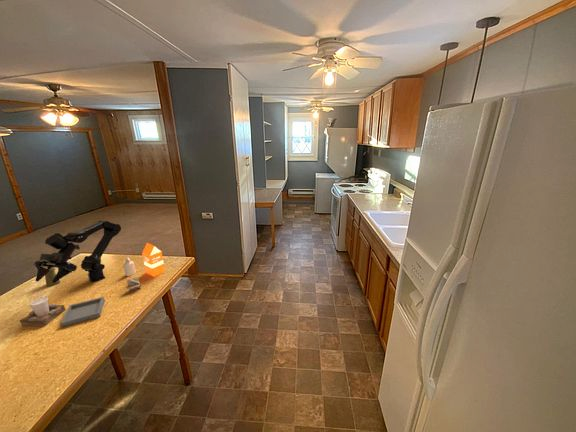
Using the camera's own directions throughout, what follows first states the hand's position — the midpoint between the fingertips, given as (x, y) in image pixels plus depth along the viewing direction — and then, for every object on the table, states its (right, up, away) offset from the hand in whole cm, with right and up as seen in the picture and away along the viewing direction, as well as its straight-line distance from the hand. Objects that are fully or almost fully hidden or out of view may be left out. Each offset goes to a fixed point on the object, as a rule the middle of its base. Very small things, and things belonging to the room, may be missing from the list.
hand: (44, 281), depth 116 cm
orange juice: (+34, -4, +37) cm, 50 cm away
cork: (-20, -8, +24) cm, 32 cm away
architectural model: (+32, -10, +19) cm, 39 cm away
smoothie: (+3, -17, -3) cm, 17 cm away
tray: (+19, -16, +1) cm, 25 cm away
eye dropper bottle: (+20, -5, +34) cm, 40 cm away
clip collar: (+3, -16, -3) cm, 17 cm away
